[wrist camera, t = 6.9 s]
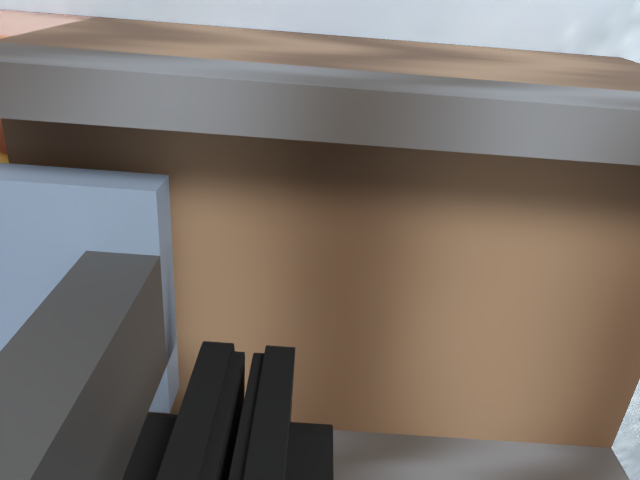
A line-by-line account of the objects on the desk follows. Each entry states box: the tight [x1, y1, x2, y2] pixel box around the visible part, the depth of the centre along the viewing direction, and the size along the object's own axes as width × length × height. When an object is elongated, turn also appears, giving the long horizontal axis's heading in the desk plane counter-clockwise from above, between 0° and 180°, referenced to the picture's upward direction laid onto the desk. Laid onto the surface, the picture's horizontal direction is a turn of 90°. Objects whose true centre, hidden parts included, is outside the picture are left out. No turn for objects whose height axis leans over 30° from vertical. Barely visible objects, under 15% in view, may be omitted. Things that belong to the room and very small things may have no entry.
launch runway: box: [0, 17, 640, 480], centre depth 16 cm, size 16×11×8 cm
